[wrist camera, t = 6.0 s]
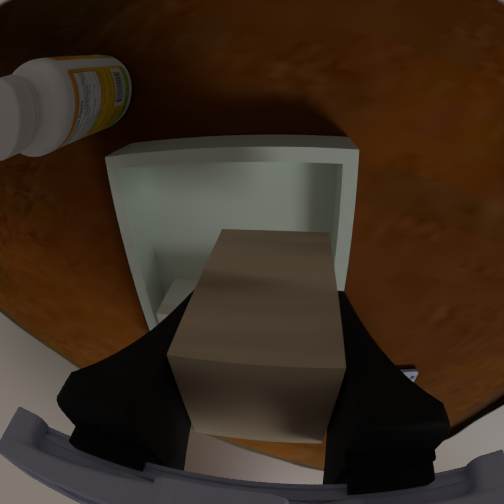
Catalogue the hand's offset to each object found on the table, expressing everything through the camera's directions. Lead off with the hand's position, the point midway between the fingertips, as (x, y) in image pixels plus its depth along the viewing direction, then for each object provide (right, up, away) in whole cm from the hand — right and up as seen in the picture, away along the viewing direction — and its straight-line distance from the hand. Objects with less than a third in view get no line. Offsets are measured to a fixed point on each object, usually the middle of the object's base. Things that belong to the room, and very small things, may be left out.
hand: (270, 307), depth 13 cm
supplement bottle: (-11, +13, +5) cm, 18 cm away
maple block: (0, +1, +2) cm, 2 cm away
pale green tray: (-2, +1, +11) cm, 11 cm away
